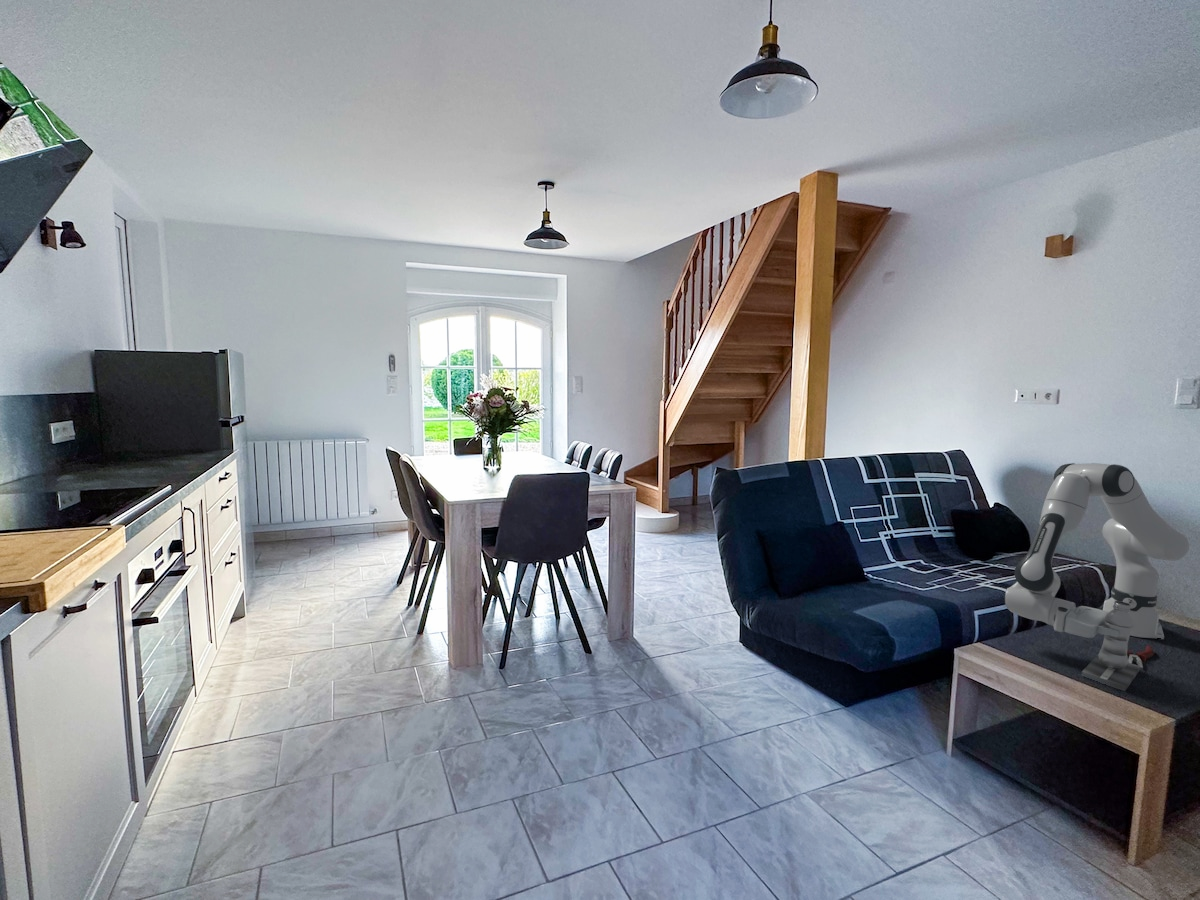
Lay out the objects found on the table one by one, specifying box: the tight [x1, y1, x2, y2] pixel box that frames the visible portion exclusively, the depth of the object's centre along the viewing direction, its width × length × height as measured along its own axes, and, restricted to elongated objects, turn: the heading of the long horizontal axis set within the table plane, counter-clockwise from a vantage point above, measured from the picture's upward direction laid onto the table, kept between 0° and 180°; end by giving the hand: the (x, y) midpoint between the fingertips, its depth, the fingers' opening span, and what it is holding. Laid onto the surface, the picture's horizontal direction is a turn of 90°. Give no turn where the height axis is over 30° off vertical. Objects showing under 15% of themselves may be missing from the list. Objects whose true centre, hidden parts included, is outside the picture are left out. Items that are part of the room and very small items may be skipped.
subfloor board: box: [1080, 653, 1141, 692], centre depth 180 cm, size 20×10×2 cm, turn 129°
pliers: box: [1127, 645, 1155, 669], centre depth 192 cm, size 12×20×3 cm, turn 144°
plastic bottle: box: [1098, 601, 1134, 670], centre depth 178 cm, size 6×7×20 cm
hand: (1121, 630), depth 177 cm, fingers closed on plastic bottle, 6 cm apart
